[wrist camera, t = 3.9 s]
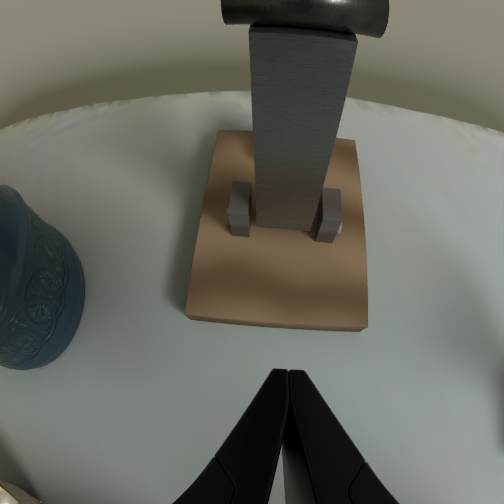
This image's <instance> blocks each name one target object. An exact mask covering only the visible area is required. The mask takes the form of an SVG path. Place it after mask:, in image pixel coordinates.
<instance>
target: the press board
mask: <svg viewBox="0 0 504 504" xmlns="http://www.w3.org/2000/svg"><path fill="white" fill-rule="evenodd" d="M185 315H186V316H187V317H189V318H190V319H191V320H197V321H206V322H216V323H226V324H236V325H247V326H259V327H273V328H287V329H304V330H324V331H350V332H360V331H361V330H363V329H365V328H367V327H368V287H367V259H366V241H365V226H364V214H363V203H362V193H361V183H360V175H359V166H358V159H357V151H356V144H355V140H349V139H341V138H336V139H335V143H334V147H333V151H332V155H331V158H330V162H329V166H328V170H327V173H326V177H325V181H324V185H323V188H322V192H321V195H320V199H319V203H318V206H317V210H316V213H315V217H314V220H313V224H312V227H311V230H310V231H303V230H290V229H276V228H262V227H257V220H256V194H255V168H254V144H253V131H226V130H219V131H218V135H217V140H216V144H215V149H214V153H213V158H212V163H211V167H210V172H209V177H208V182H207V187H206V192H205V197H204V202H203V207H202V213H201V218H200V223H199V229H198V234H197V240H196V245H195V251H194V257H193V263H192V269H191V275H190V281H189V288H188V294H187V301H186V307H185Z"/></svg>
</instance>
